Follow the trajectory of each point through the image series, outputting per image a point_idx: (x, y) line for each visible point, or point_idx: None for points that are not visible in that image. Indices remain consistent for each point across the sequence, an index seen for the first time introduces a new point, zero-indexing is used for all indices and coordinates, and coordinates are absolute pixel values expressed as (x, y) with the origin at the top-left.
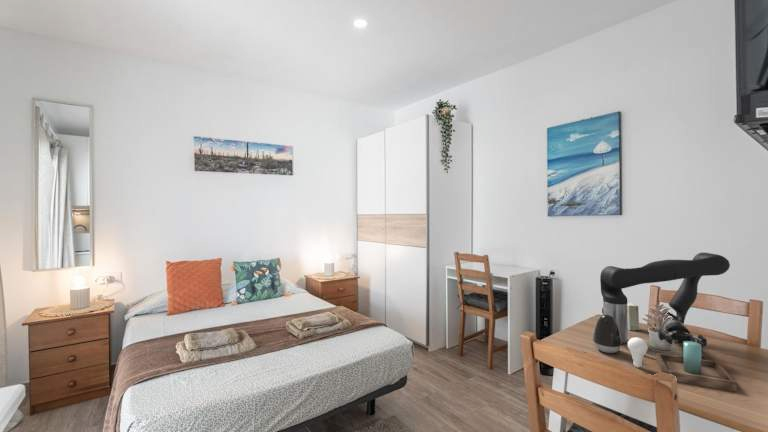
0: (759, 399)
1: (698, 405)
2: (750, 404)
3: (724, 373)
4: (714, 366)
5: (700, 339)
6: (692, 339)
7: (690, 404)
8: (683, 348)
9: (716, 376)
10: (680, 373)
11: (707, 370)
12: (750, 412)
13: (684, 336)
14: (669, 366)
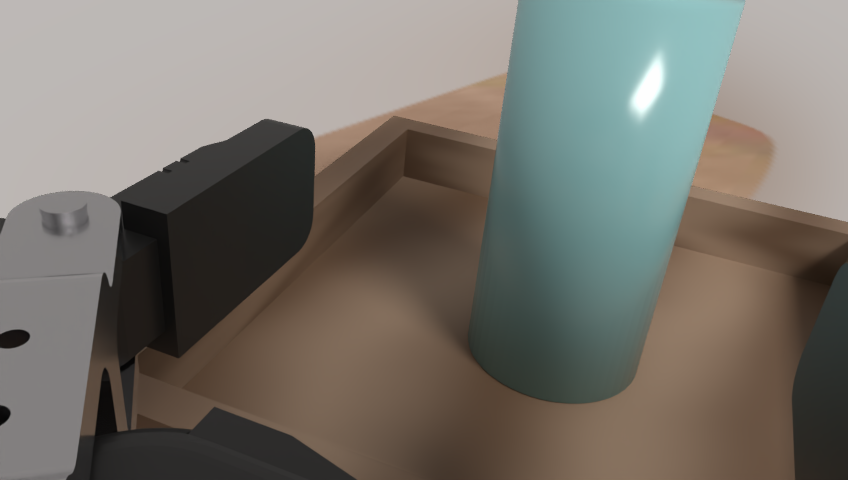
0: (324, 138)
1: (719, 129)
2: (435, 120)
3: (336, 190)
4: None
5: (58, 198)
6: (118, 376)
7: (756, 134)
8: (715, 102)
9: (367, 272)
10: (756, 204)
11: (334, 371)
12: (499, 95)
13: (290, 439)
14: (781, 452)
